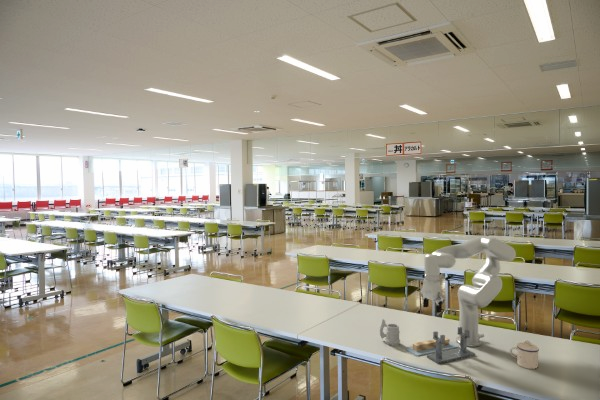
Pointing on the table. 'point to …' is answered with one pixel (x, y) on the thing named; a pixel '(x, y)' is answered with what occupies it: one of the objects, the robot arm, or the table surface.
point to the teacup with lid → (526, 355)
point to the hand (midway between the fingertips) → (432, 309)
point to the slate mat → (432, 350)
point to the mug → (390, 333)
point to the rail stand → (451, 354)
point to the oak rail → (428, 344)
